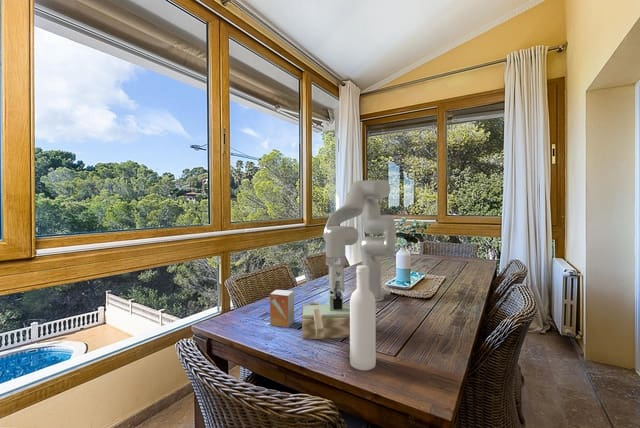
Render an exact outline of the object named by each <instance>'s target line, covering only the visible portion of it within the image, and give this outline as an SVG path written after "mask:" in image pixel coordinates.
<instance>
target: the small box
mask: <svg viewBox="0 0 640 428" xmlns="http://www.w3.org/2000/svg"><path fill="white" fill-rule="evenodd" d="M269 311H270V313H269V320H270V323H269V325H270V326H274V327H275V326H276V327H283V328H287V329H288V328H290V327H291V326H292V325H293V323H294V322H295V291H294V290H289V289H287V290H286V289H275V290H273V291H272V292H271V293H269Z"/></svg>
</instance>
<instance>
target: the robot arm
mask: <svg viewBox="0 0 640 428" xmlns="http://www.w3.org/2000/svg"><path fill="white" fill-rule="evenodd" d="M390 193H391V184H390V183H389V181H388V180H386V179H379V180H378V179H369V180H368V179H367V180H357V181H354V182H353V183H352V184H351V185H350V188H349V191H348V193H347V197H346V199H345V202H344V204H343V205H342V206H340V207H339V208H337V209H336V210H335V211H334V212H333V213H331V214H330V215H329V217H328V219H327V221H326V223H325V226H324V229H323V235H322V236H323V240H324V242H325V265H326V266H328V284H329V285H328V286H329V288H330V290H329V294H334V298H333V309H334V310H338V309H342V295H343V293H344V292H346V290H345V289H346V287H345V270H344V268H345V267H344V266H346V246H353V245H354V244H356V243H357V242H358V241H359V231H358V229H357V228H356V227H354V226H349V225H347V226H345V225H341V224H342V223H344V222H346V221H350V220H352V219H354V218H356V217H360V215H362V229H363V231H364V233H366V234H369V235H370V234H371V235H383V236H384V237H383V236H369V235H368V236H364V237H362V238H361V240H360V243H359V247H360V255H361V265H365V266H368V267H369V290H370V291H371V292H372V293H373V294H374V297H375V300H376V303H377V302H381V301H384V300H385V295H386V296H387V295H388V296H389V295H391V291H390V290H387V289H382V264H381V261H380V259H379V257H387V258H388V257H393V256H395V253H396V221H395V218H394V217H393V216H392V215H385V214H384V215H381V205H380V203H379V201H378V200H383V199H386V198H388V197H389V196H390Z"/></svg>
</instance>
